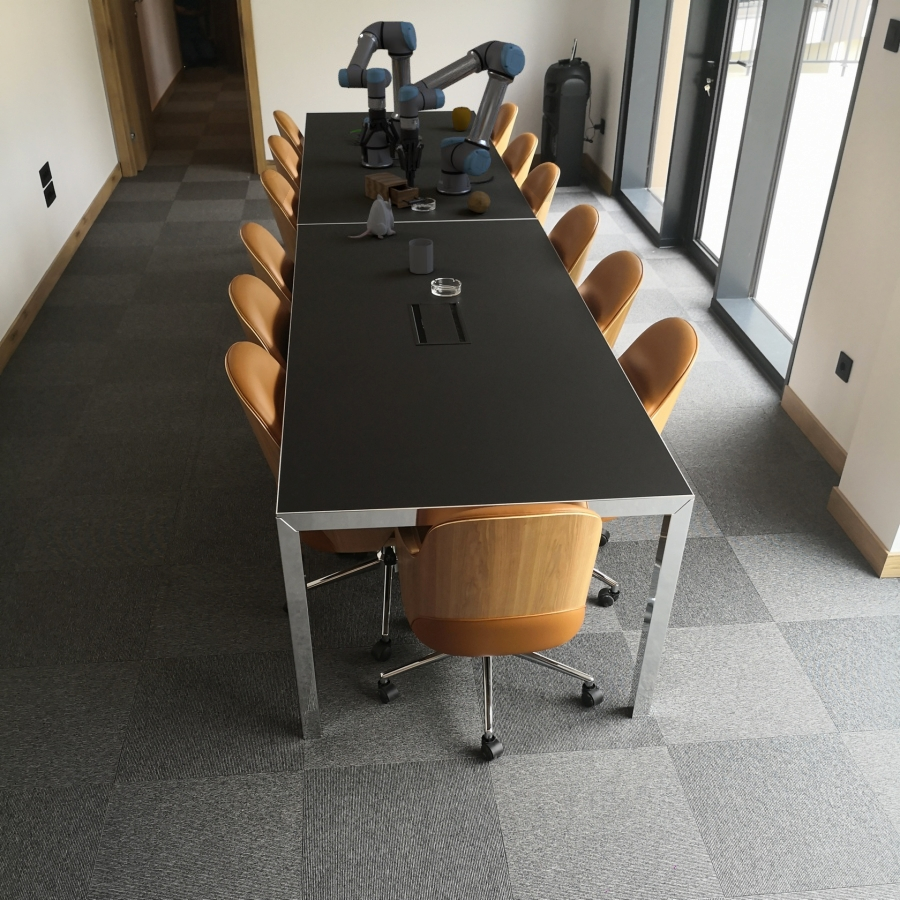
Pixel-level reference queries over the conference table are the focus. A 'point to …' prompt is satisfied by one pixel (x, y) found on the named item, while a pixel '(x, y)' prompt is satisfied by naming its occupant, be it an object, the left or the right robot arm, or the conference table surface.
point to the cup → (421, 256)
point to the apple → (461, 118)
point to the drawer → (404, 195)
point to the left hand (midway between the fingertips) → (379, 160)
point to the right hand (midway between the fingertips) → (410, 186)
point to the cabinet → (381, 185)
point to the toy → (379, 219)
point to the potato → (478, 201)
